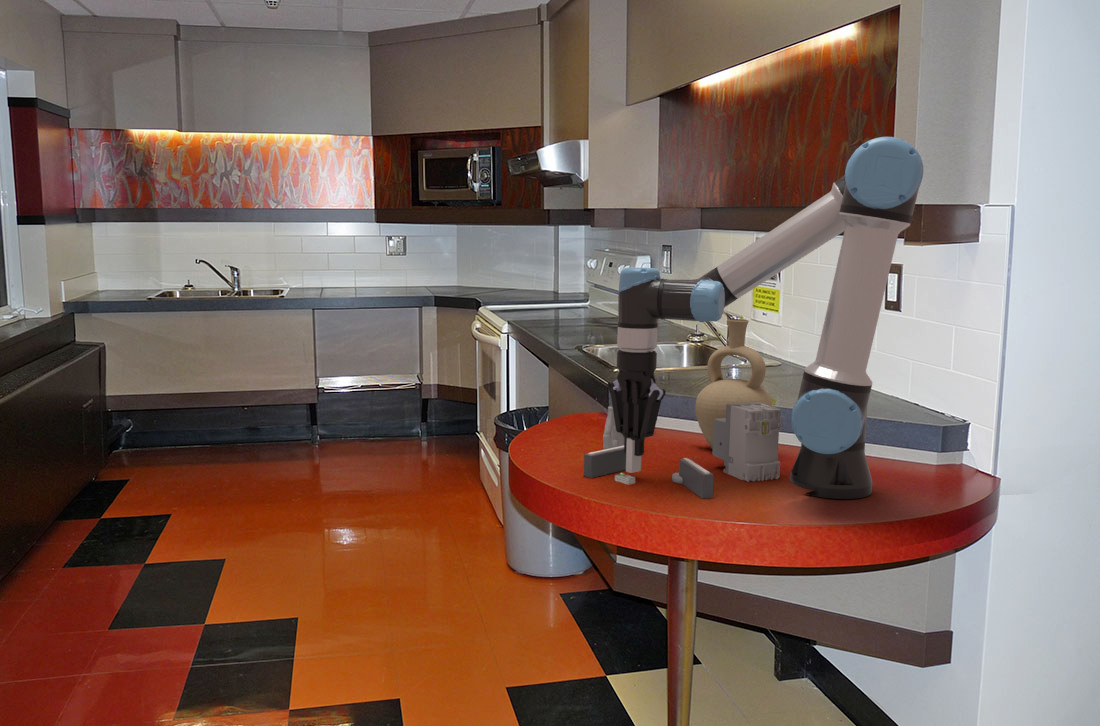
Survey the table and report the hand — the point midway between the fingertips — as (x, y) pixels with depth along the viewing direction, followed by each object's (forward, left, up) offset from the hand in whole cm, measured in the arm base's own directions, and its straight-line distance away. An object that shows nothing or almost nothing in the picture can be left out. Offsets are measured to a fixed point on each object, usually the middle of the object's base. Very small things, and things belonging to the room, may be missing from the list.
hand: (633, 471), depth 177 cm
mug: (+16, -14, -3) cm, 22 cm away
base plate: (-2, -2, -3) cm, 4 cm away
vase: (+3, -37, -3) cm, 37 cm away
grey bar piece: (-12, -3, -2) cm, 12 cm away
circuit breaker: (-11, -21, -3) cm, 24 cm away
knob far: (+6, -1, -2) cm, 7 cm away
